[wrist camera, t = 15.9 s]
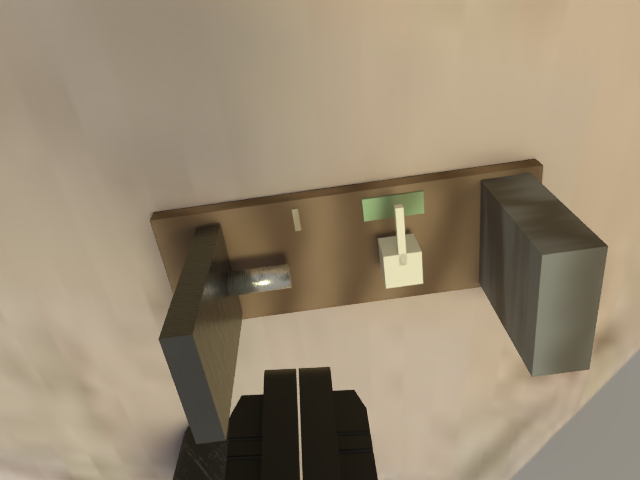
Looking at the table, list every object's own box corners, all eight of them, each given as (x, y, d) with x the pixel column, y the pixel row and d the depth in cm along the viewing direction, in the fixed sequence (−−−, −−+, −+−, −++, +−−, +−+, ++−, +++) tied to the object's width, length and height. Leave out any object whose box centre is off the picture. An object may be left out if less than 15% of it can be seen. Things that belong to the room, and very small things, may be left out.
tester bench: (186, 317, 50) (154, 431, 38) (153, 212, 45) (104, 308, 33) (527, 270, 49) (602, 372, 37) (535, 158, 44) (625, 236, 32)
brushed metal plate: (220, 316, 48) (196, 444, 35) (196, 228, 43) (158, 339, 31) (298, 305, 47) (300, 430, 35) (281, 216, 43) (277, 322, 31)
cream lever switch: (380, 268, 45) (385, 288, 43) (373, 194, 42) (379, 210, 39) (415, 264, 45) (423, 283, 43) (411, 189, 42) (419, 205, 39)
